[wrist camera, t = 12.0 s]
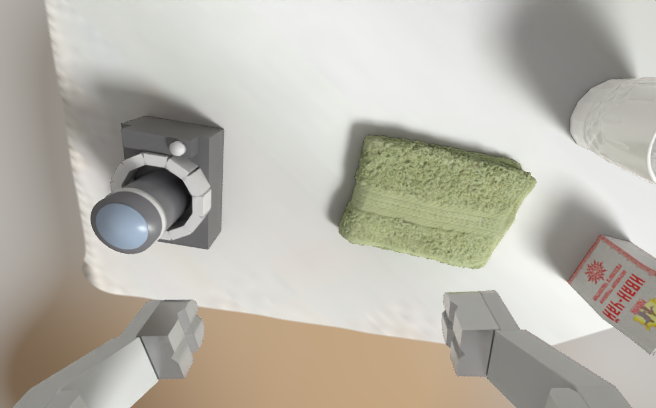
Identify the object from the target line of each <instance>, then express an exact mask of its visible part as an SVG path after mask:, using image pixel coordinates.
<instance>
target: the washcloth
mask: <svg viewBox="0 0 656 408" xmlns="http://www.w3.org/2000/svg"><path fill="white" fill-rule="evenodd" d="M363 143H364V146H363V147H362V149H363V150H362V153H361V154H362V156H361V158H360V159H359V168H358V169H357V171H356V175H355V176H354V177H355V180H356V184H355V187H354V191H353V196H352V199H351V201H350V202H349V203H348V204H347V208H346V209H345V211H346V212H345V213H344V214H343V217H342V219H341V221H340V224H339V233H340V234H341V235H342V236H343V237H344V238H345V239H347V240H348V241H349V242H350V243H353V244H356V243H357V244H359V245H362V246H363V245H370V246H373V247H378V248H382V249H383V250H384V249H386V250H393V251H395V252H399V253H407V254H410V255H413V256H418V257H420V256H421V257H425V258H427V259H434V260H436V261H440V263H441V262H442V263H447V264H448V265H452V266H459V267H463V268H465V267H468V268H472V269H474V268H475V269H479V268H481V267H484V265H485V264H486V263H487V261H488V260H489V258H490V255H491V254H492V252H493V251H494V249H495V248H496V246H497V245H498V244H499V242H500V241H501V239H502V238H503V236H504V235H505V233H506V232H507V231H508V229H509V228H510V227H511V225H512V224H513V222H514V220H515V216H516V213H517V211H518V208H519V206H520V205H521V203H522V202H523V200H524V199H525V197H526V196H527V195H528V194H529V193H530V192H531V191H532V190H533V188H534V187H535V184H536V179H535V178H534V177H532V176H530V175H531V173H530V172H525V171H523V170H521V166H520V164H519V163H517V162H515V161H513V160H512V159H506V158H504V157H500V158H498V157H493V156H489V155H487V154H482V153H475V152H470V151H467V152H465V151H464V150H462V149H457V148H452V147H448V146H445V147H443V146H439V145H437V144H431V143H430V144H426V143H424V142H422V141H417V140H416V141H410V140H408V139H407V140H406V139H404V138H401V139H399V138H389V137H386V136H378V135H377V136H372V135H371V136H370V135H368V136H366V137H365V140H364V141H363Z"/></svg>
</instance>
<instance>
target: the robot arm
mask: <svg viewBox="0 0 656 408" xmlns="http://www.w3.org/2000/svg"><path fill="white" fill-rule="evenodd" d="M443 304H444V307H445V309H446V310H445V311H444V312H443V313H442V331H443V336H444V339H445V343H446V345H447V346H449V347H450V348H451V353H450V358H451V361H452V363H453V367H454V370H455V372H456V375H457V376H480V377H481V376H482V377H487V379H488V380H489V381H490V382H491V383H492V384H493V385H494V386H495V387H496V388H497V389H498V390H499V391H500V392H501V393H502V394H503V395H504V396H505V397H506V398H507V399H508V400H509V401H510V402H511V403H512V404H513V405H514V406H515V407H516V408H632V407H631V406H630V404H629V403H628V402H627V400H626V399H625V398H624V397H623V396H622V394H621V393H620V392H619V390H618V389H617V388H616V387H615V386H614V385H612V384H611V383H609V382H607V381H606V380H604V379H603V378H601V377H600V376H598V375H596V374H595V373H593V372H592V371H590V370H589V369H587V368H585V367H584V366H582V365H581V364H579V363H578V362H576V361H574V360H573V359H571V358H570V357H568V356H566V355H565V354H563V353H562V352H560V351H558V350H557V349H555V348H554V347H552V346H551V345H549V344H547V343H546V342H544V341H543V340H541V339H540V338H538V337H536V336H535V335H533V334H532V333H530V332H528V331H527V330H520V328H519V327H518V325H517V323H516V322H515V320H514V319H513V317H512V315H511V314H510V312H509V310H508V309H507V307H506V306H505V304H504V302H503V301H502V299H501V298H500V296H499V294H498V293H497V292H496V291H495V290H492V291H478V292H449V293H445V294H444V298H443ZM197 311H198V306H197V303H196V301H194V300H150V301H148V302H146V304H145V305H144V306H143V307H142V308H141V310H140V311H139V312H138V314H137V315H136V316H135V318H134V319H133V320H132V321H131V322H130V324H129V325H128V326H127V328H126V329H125V330H124V331H123V333H122V334H121V335H120V336H119V338H113V339H111V340H109V341H108V342H106V343H105V344H103V345H101V346H100V347H98V348H96V349H95V350H93V351H91V352H90V353H88V354H87V355H85V356H84V357H82V358H80V359H78V360H77V361H75V362H73V363H72V364H70V365H69V366H67V367H65V368H64V369H62V370H61V371H59V372H57V373H56V374H54V375H52V376H51V377H49V378H47V379H46V380H44V381H42V382H41V383H39V384H38V385H36V386H34V387H33V388H31V389H29V391H28V392H27V393H26V394H25V395H24V396H23V397H22V398H21V399H20V401H18V402H17V404H16V405H15V406H14V407H13V408H130V407H131V406H132V405H133V404H134V403H135V402H136V401H137V400H138V399H139V398H141V396H143V395H144V394H145V393H146V392H147V391H148V390H149V389H150V388H151V387H152V386H153V385H154V384H156V383H157V382H158V379H181V378H185V376H186V374H187V372H188V370H189V368H190V366H191V364H192V362H193V357H192V353H194V352H195V351H196V350H198V349H199V347H200V345H201V343H202V341H203V336H204V324H203V321H202V319H201V318H200V317H199V316H198V315H196V313H197Z"/></svg>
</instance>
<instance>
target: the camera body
mask: <svg viewBox="0 0 656 408" xmlns="http://www.w3.org/2000/svg"><path fill="white" fill-rule="evenodd" d="M121 127H122V129H121V130H122V140H123V147H124V157H125V160H124V161H122V162H121V163H120V164H119V166H118V167H117V169H116V171H115V173H114V174H113V176H112V178H111V180H112V181H111V182H110V183H111V192H114V191H115V190H118V189H121V188H123V187H125V186H126V185H128V184H130V183H132V182H133V181H135V180H137V179H138V178H140V177H142V176H144V175H145V174H147V173H149V172H151V171H154V170H166V171H170V172H172V173H173V174H175V175H176V176H178V177H179V178H181V179H182V180H183V182H184V183H185V185H186V187H187V188H188V190H189V192H190V195H191V201H190V205H189V207H188V209H187V210H186V211H185V212H184V213H183V214H182V215H181V216H180V217H179V218H178V219H177V220H176V221H175V222H174V223H173V224H172V225H171V226H170V227H169V228H168V229H167V230H166V231H165V232H164V234H163V235H162V237H161V238H160V239H159V240H158V241H159V242H165V243H171V244H177V245H183V246H189V247H196V248H202V249H209V247H210V246H211V245H212V243H213V242H214V240H215V239H216V238H217V236H218V235H219V233H220V232H221V214H222V180H223V145H224V129H220V128H214V127H208V126H202V125H197V124H191V123H185V122H179V121H173V120H167V119H161V118H155V117H149V116H143V117H140V118H137V119H134V120H130V121H127V122H124V123H121Z"/></svg>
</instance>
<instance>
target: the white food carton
mask: <svg viewBox="0 0 656 408" xmlns="http://www.w3.org/2000/svg"><path fill="white" fill-rule="evenodd" d="M567 283H568V284H569V285H570V286H571V287H572V288H573V289H574V290H575V291H576V292H577V293H578V294H579V295H580V296H581V297H582V298H583V299H584V300H585V301H586V302H587V303H588V304H589V305H590V306H591V307H592V308H593V309H594V310H595V311H596V312H597V313H598V314H599V315H600V316H601V318H602V319H604V320H605V321H607V322H608V323H609V324H611V325H612V326H613V327H615V328H616V329H618V330H619V331H620V332H622V333H623V334H624V335H626V336H627V337H629V338H630V339H631V340H632V341H634V342H635V343H636V344H638V345H639V346H640V347H642V348H643V349H644V350H645V351H646V352H648V353H649V354H653V355H654V354H655V353H656V258H654V257H653V256H651V255H650V254H648V253H647V252H645V251H644V250H642V249H641V248H639V247H638V246H636V245H635V244H633V243H632V242H628V241H624V240H620V239H617V238H613V237H609V236H605V235H600V236H599V237H598V239H597V240H596V242H595V243H594V245H593V246H592V248H591V249H590V250H589V252H588V253H587V255H586V256H585V258H584V259H583V261H582V262H581V264H580V265H579V266H578V268H577V269H576V271H575V272H574V274H573V275H572V277H571V278H570V279H569V281H568V282H567Z"/></svg>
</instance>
